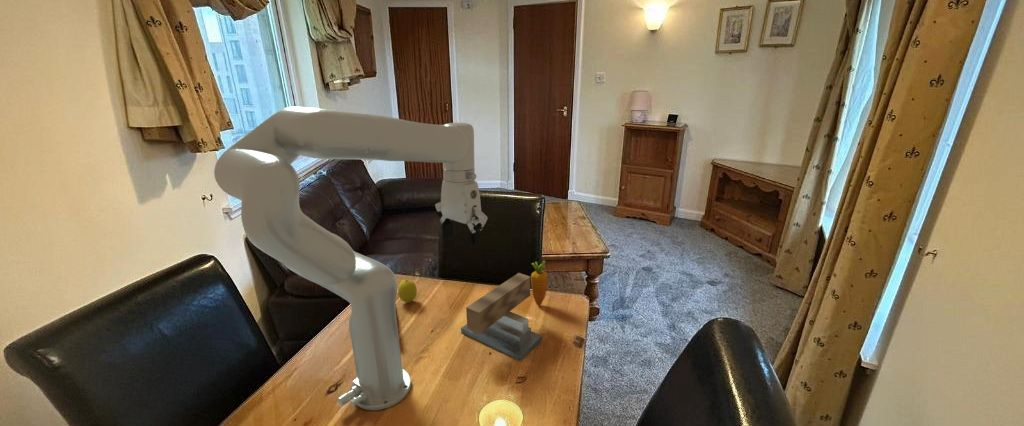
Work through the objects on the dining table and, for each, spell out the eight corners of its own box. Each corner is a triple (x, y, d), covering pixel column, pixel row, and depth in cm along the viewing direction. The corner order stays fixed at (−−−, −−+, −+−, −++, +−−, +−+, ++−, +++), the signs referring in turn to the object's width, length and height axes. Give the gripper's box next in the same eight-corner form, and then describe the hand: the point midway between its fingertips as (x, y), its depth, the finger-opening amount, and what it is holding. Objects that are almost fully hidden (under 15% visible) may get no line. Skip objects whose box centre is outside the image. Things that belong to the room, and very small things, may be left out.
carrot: (528, 308, 123) (529, 263, 118) (532, 300, 127) (533, 256, 122) (545, 311, 121) (546, 265, 116) (548, 302, 126) (549, 258, 121)
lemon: (421, 301, 127) (419, 278, 124) (408, 309, 123) (406, 285, 120) (408, 296, 130) (406, 273, 127) (395, 304, 125) (393, 281, 123)
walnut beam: (518, 291, 116) (518, 272, 115) (530, 295, 114) (530, 276, 112) (467, 328, 100) (466, 307, 98) (479, 334, 97) (478, 312, 96)
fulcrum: (520, 361, 100) (520, 333, 98) (461, 332, 111) (459, 307, 109) (542, 340, 108) (542, 314, 105) (484, 315, 119) (483, 291, 116)
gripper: (496, 178, 95) (496, 245, 100) (446, 168, 106) (448, 230, 111) (474, 183, 90) (475, 255, 95) (423, 172, 100) (427, 237, 105)
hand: (460, 241), depth 103 cm, fingers open, 9 cm apart
